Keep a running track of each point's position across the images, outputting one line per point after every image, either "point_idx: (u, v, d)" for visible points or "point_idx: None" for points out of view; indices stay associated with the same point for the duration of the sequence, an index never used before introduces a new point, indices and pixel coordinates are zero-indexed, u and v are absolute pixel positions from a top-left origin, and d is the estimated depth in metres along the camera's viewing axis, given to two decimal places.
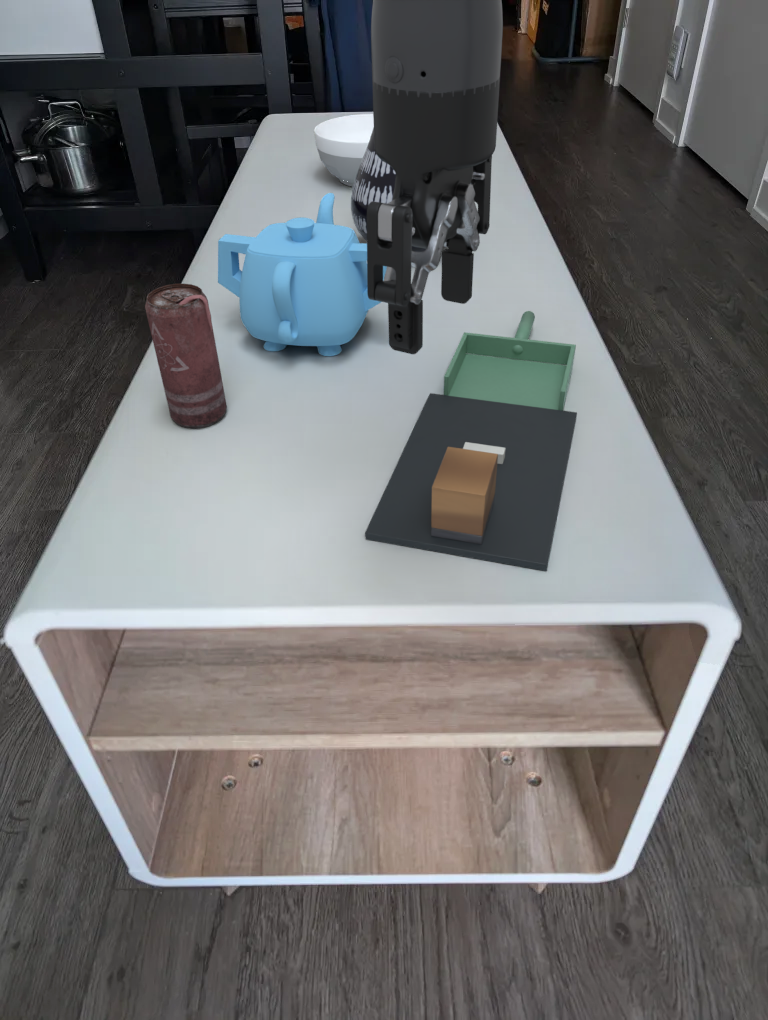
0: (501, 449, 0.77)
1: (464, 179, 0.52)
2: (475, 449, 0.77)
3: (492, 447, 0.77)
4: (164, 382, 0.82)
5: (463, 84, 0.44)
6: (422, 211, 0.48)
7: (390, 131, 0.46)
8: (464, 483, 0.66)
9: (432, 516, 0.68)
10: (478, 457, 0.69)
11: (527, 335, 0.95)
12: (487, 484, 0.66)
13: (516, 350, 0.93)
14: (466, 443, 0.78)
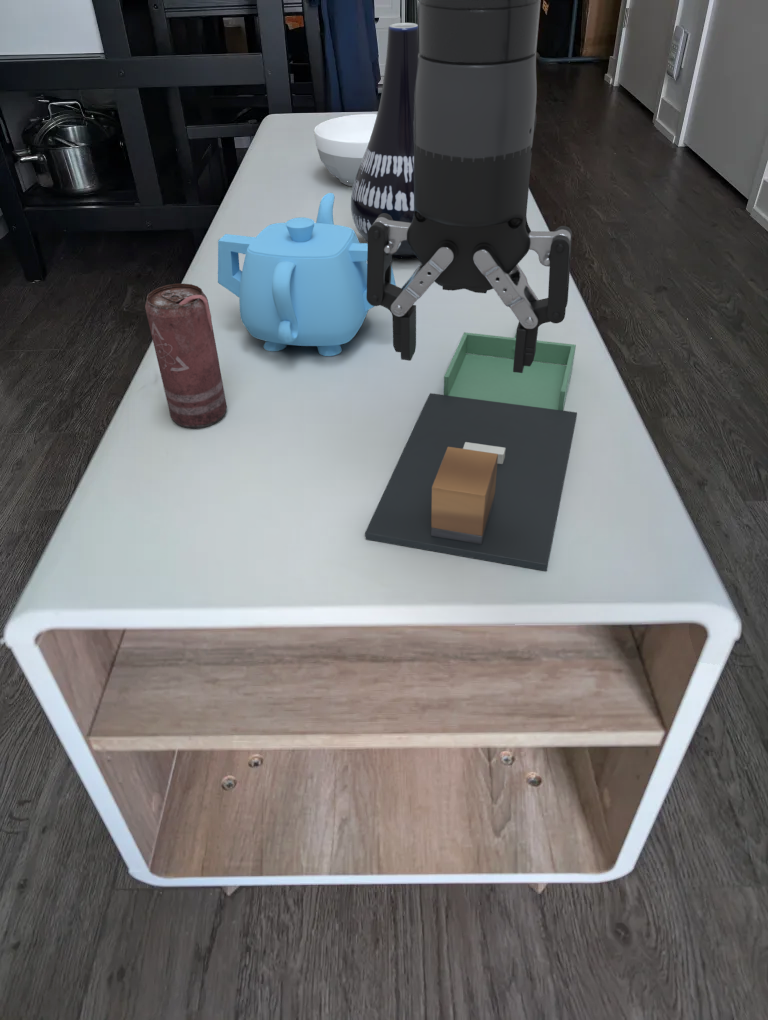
0: (501, 449, 0.77)
1: (499, 247, 0.53)
2: (475, 449, 0.77)
3: (492, 447, 0.77)
4: (164, 382, 0.82)
5: (425, 145, 0.49)
6: (410, 241, 0.55)
7: None
8: (464, 483, 0.66)
9: (432, 516, 0.68)
10: (478, 457, 0.69)
11: None
12: (487, 484, 0.66)
13: None
14: (466, 443, 0.78)
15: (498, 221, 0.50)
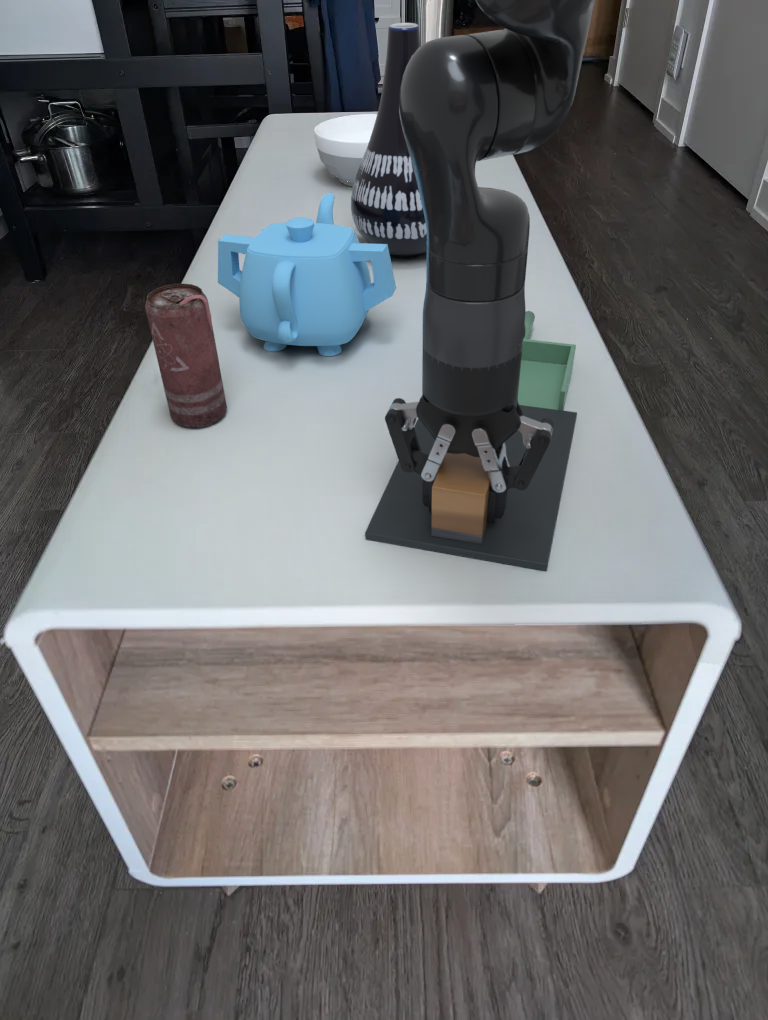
0: None
1: (494, 425, 0.63)
2: None
3: None
4: (164, 382, 0.82)
5: (431, 353, 0.58)
6: (419, 415, 0.64)
7: None
8: (464, 483, 0.66)
9: (432, 516, 0.68)
10: (478, 457, 0.69)
11: (527, 335, 0.95)
12: (487, 484, 0.66)
13: None
14: None
15: (492, 411, 0.60)
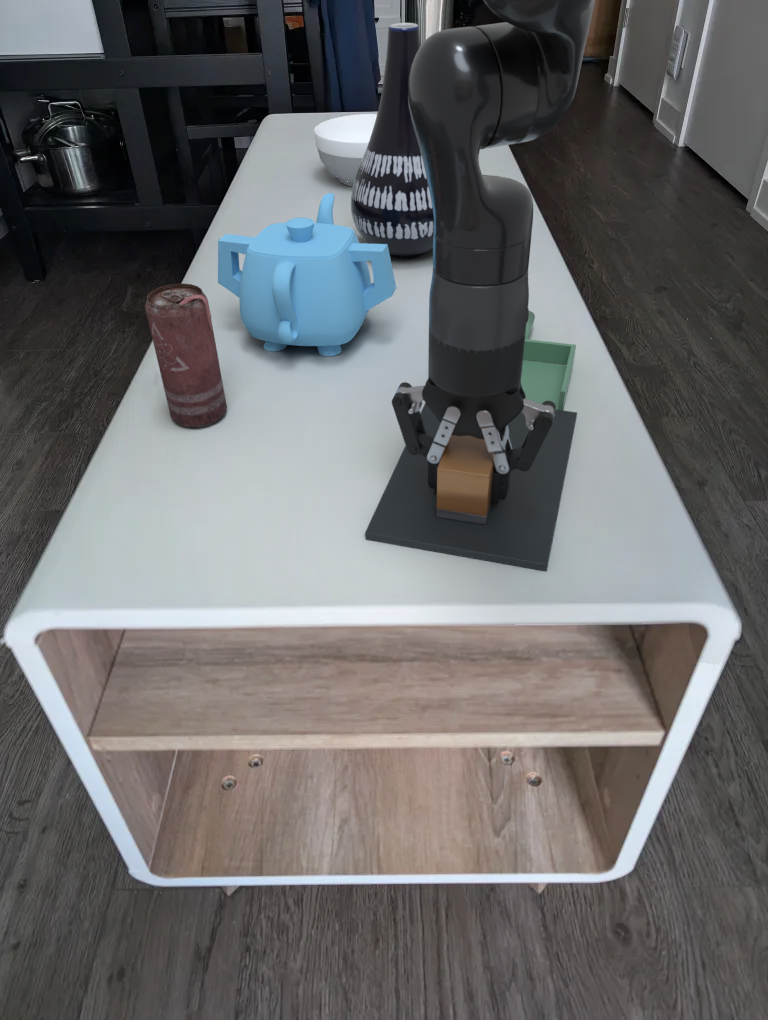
0: None
1: (498, 407, 0.65)
2: None
3: None
4: (164, 382, 0.82)
5: (438, 336, 0.60)
6: (425, 398, 0.66)
7: None
8: (469, 464, 0.68)
9: (437, 497, 0.70)
10: (482, 440, 0.71)
11: (527, 335, 0.95)
12: (491, 465, 0.68)
13: None
14: None
15: (496, 393, 0.62)
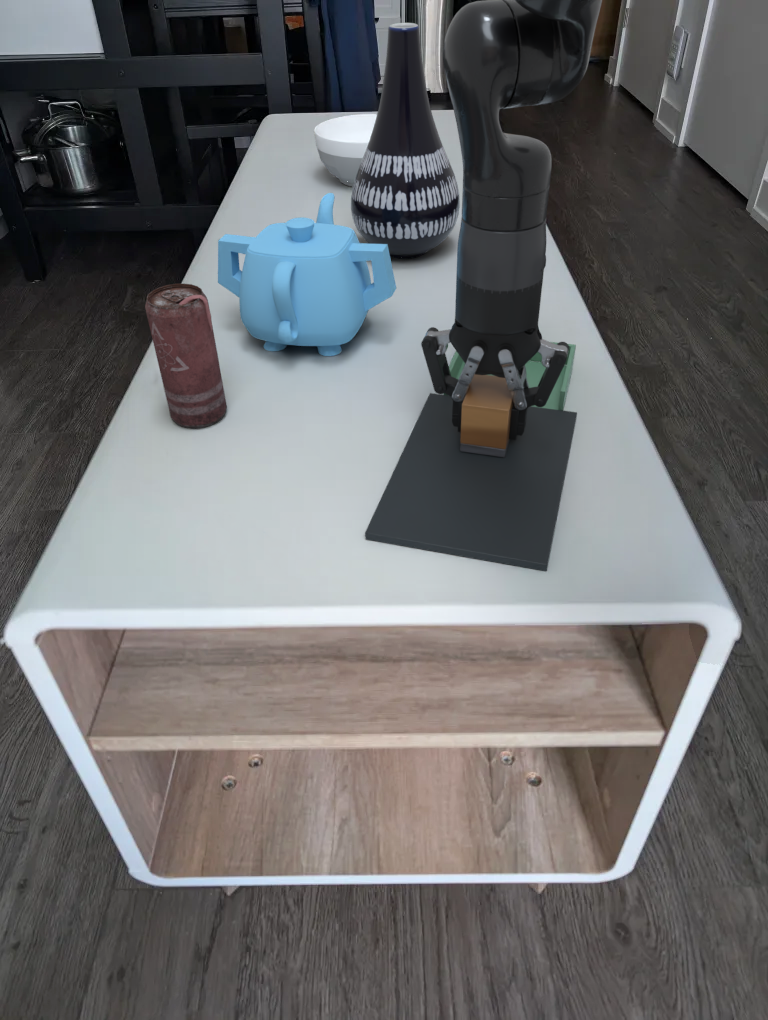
0: None
1: (517, 347, 0.72)
2: None
3: None
4: (164, 382, 0.82)
5: (465, 279, 0.68)
6: (451, 340, 0.74)
7: None
8: (490, 401, 0.76)
9: (461, 432, 0.77)
10: (501, 381, 0.78)
11: None
12: (510, 402, 0.75)
13: None
14: None
15: (517, 332, 0.69)
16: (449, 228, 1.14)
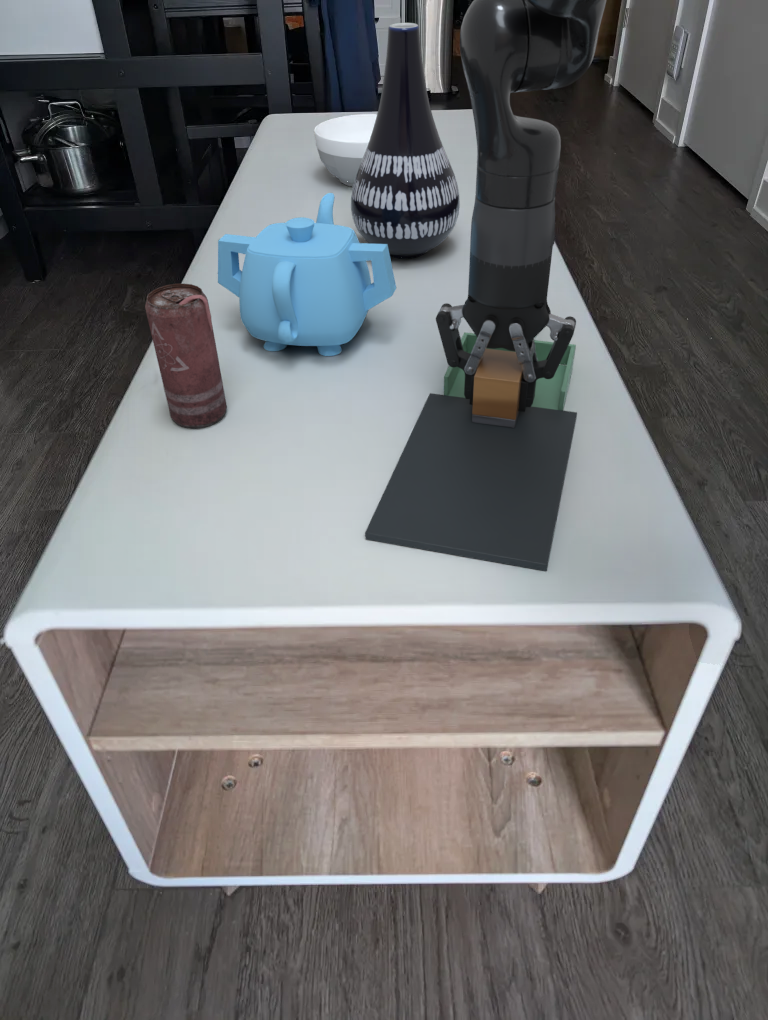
0: None
1: (527, 321, 0.76)
2: None
3: None
4: (164, 382, 0.82)
5: (479, 255, 0.72)
6: (464, 315, 0.78)
7: None
8: (501, 373, 0.80)
9: (473, 403, 0.81)
10: (511, 355, 0.82)
11: None
12: (520, 374, 0.79)
13: None
14: None
15: (527, 306, 0.73)
16: (449, 228, 1.14)
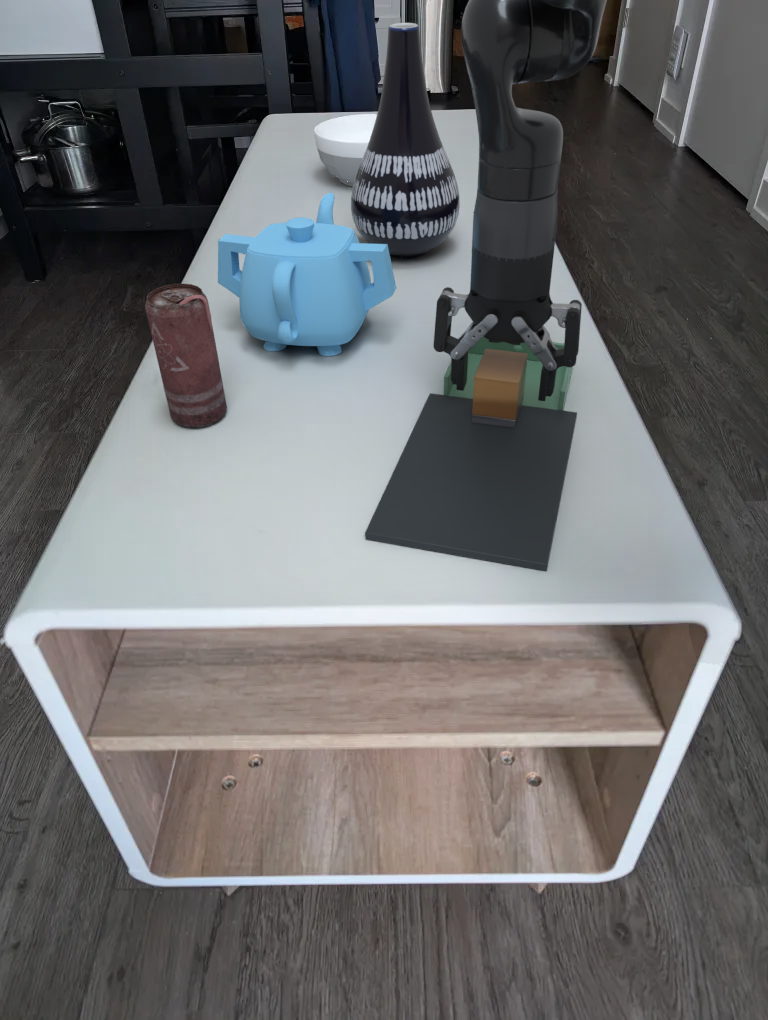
0: None
1: (530, 314, 0.76)
2: None
3: None
4: (164, 382, 0.82)
5: (481, 249, 0.71)
6: (467, 308, 0.77)
7: None
8: (501, 374, 0.80)
9: (473, 404, 0.81)
10: (511, 356, 0.82)
11: None
12: (520, 374, 0.79)
13: (516, 350, 0.93)
14: None
15: (529, 299, 0.73)
16: (449, 228, 1.14)
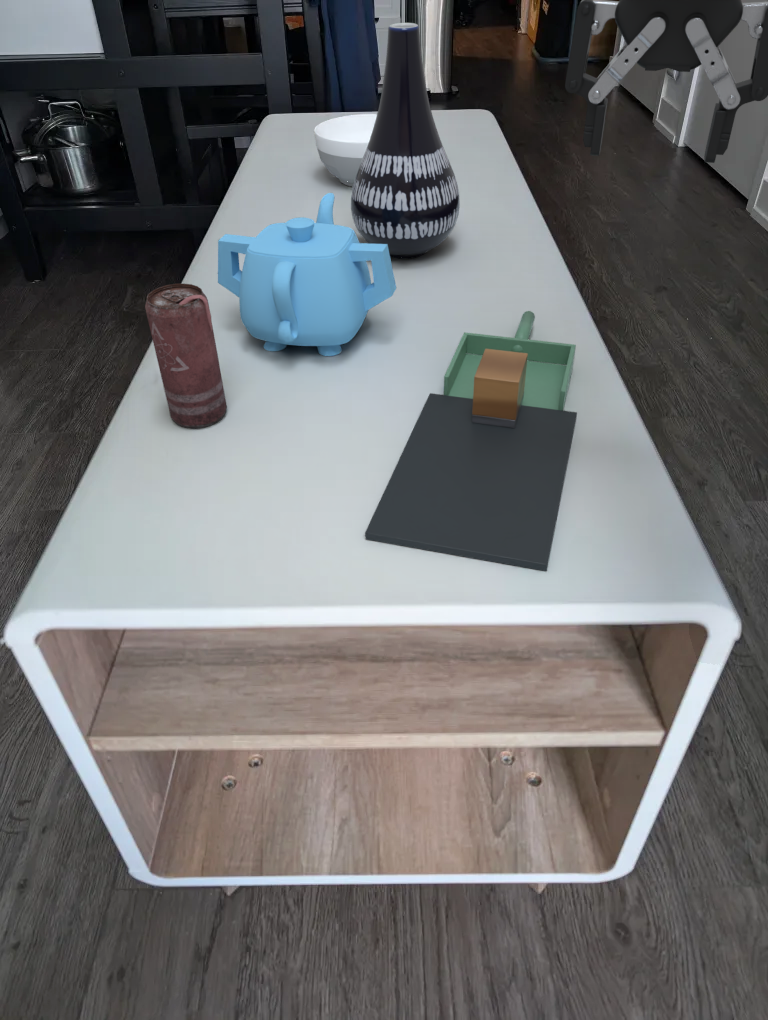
0: None
1: (711, 17, 0.54)
2: None
3: None
4: (164, 382, 0.82)
5: None
6: (619, 17, 0.56)
7: None
8: (501, 374, 0.80)
9: (473, 404, 0.81)
10: (511, 356, 0.82)
11: (527, 335, 0.95)
12: (520, 374, 0.79)
13: (516, 350, 0.93)
14: None
15: None
16: (449, 228, 1.14)
